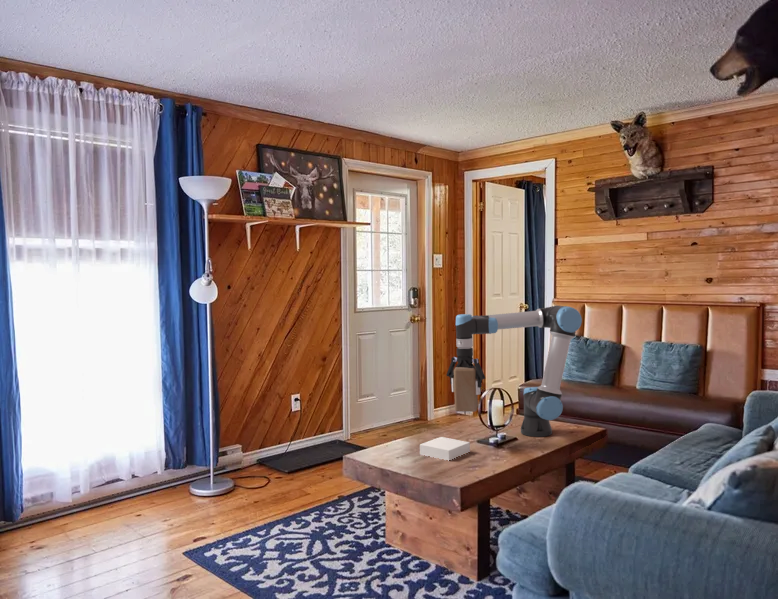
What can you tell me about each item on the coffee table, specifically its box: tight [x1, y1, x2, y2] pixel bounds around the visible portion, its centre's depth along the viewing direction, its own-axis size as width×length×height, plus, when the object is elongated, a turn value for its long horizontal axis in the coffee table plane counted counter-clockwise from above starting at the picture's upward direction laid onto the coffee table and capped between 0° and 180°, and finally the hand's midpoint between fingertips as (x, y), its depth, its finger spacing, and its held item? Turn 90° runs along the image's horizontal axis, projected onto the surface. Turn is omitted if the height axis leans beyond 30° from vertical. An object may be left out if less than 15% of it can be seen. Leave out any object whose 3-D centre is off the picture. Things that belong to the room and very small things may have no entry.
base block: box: [419, 436, 471, 462], centre depth 274 cm, size 16×16×5 cm
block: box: [453, 365, 479, 413], centre depth 285 cm, size 10×10×20 cm
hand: (466, 393), depth 285 cm, fingers closed on block, 13 cm apart
